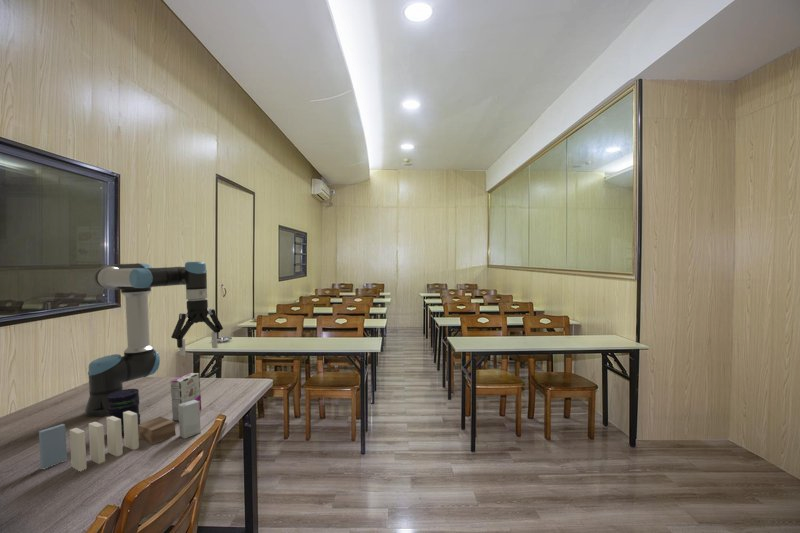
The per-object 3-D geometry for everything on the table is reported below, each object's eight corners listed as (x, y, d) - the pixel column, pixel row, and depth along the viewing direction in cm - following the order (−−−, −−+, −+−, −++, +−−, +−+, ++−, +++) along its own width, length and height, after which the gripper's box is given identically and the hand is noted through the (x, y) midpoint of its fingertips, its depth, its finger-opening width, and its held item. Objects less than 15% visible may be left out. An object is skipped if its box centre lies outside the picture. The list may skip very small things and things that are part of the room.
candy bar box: (191, 409, 165) (190, 372, 164) (201, 410, 164) (200, 372, 163) (171, 420, 154) (169, 380, 153) (182, 421, 153) (180, 381, 152)
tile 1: (71, 466, 120) (69, 429, 120) (78, 464, 122) (76, 427, 122) (79, 471, 117) (77, 433, 117) (86, 468, 119) (84, 431, 119)
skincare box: (196, 430, 144) (195, 398, 144) (201, 433, 142) (199, 401, 141) (178, 436, 140) (177, 403, 139) (183, 439, 137) (182, 406, 137)
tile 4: (124, 445, 133) (122, 412, 133) (130, 443, 135) (128, 410, 135) (133, 449, 130) (131, 415, 130) (138, 447, 132) (137, 413, 132)
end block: (138, 438, 139) (137, 424, 139) (160, 429, 146) (160, 416, 146) (152, 444, 134) (151, 430, 134) (175, 434, 141) (174, 421, 141)
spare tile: (42, 470, 119) (40, 432, 119) (40, 468, 120) (38, 431, 120) (66, 460, 124) (65, 424, 124) (64, 459, 125) (62, 423, 125)
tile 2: (90, 459, 125) (88, 423, 124) (96, 456, 126) (95, 421, 126) (98, 463, 122) (96, 427, 121) (105, 461, 123) (103, 425, 123)
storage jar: (106, 440, 138) (104, 399, 138) (112, 429, 147) (110, 391, 147) (138, 433, 143) (137, 394, 143) (142, 423, 152) (140, 386, 151)
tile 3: (108, 452, 129) (106, 417, 129) (114, 450, 131) (112, 415, 130) (116, 456, 126) (114, 421, 126) (122, 454, 128) (121, 419, 127)
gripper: (170, 303, 140) (173, 360, 141) (230, 296, 162) (232, 345, 162) (159, 302, 144) (162, 358, 144) (219, 296, 165) (221, 344, 166)
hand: (199, 351), depth 153 cm, fingers open, 13 cm apart
